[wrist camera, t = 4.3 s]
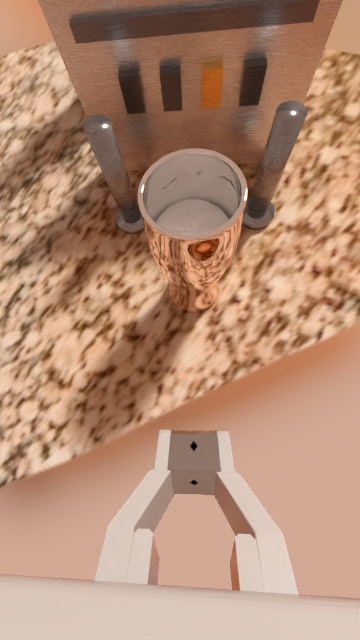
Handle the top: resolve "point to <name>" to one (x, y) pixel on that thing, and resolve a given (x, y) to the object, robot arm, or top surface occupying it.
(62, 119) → the top surface
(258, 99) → the panel
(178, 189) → the beer glass
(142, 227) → the post left
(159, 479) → the robot arm
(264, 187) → the post right
